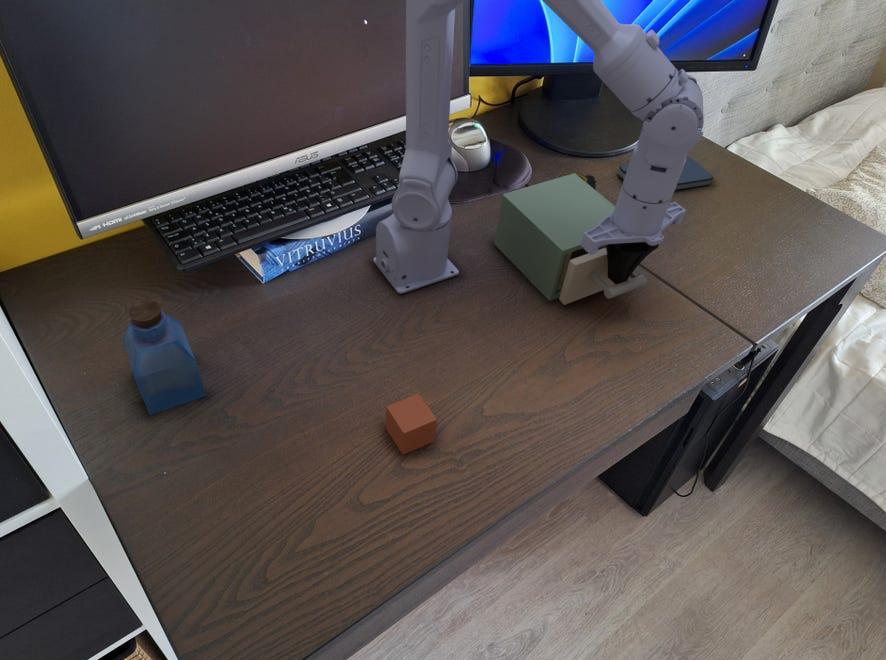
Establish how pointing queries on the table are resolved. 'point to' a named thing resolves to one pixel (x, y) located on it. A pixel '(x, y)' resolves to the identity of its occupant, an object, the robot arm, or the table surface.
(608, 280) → the drawer
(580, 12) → the robot arm
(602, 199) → the cabinet
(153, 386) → the perfume bottle
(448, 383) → the table surface
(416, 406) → the block
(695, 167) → the smartphone
